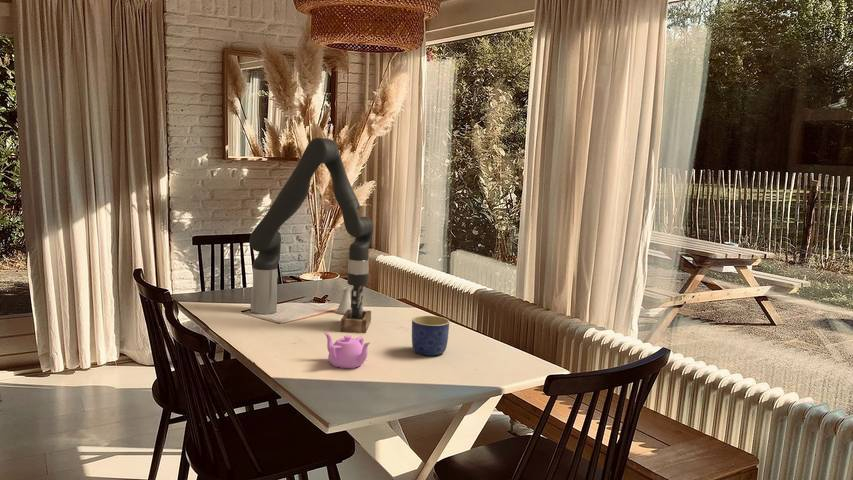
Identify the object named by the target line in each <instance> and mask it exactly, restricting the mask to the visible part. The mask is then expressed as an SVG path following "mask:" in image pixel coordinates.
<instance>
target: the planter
mask: <svg viewBox="0 0 853 480" xmlns="http://www.w3.org/2000/svg"><path fill="white" fill-rule="evenodd" d="M449 331H450V320H449V319H447V318H445V317H442V316H437V315H418V316H414V317H413V318H411V345H412V349H413V351H415V353H417V354H419V355H422V354H423V355H422V356H428V355H434V356H439V355H441V354H443V353H445V351H446V349H447V346H448V340H449Z"/></svg>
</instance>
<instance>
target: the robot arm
mask: <svg viewBox="0 0 853 480" xmlns="http://www.w3.org/2000/svg"><path fill="white" fill-rule="evenodd" d="M322 164H324V165H325V167H326V169H327V171H328V172H329V174H330V178H331V181H332V182H331V183H332V191H333V194H334V197H335V200H336V202H337V204H338V206H339V209H340V211H341V214H342V219H343V224H344V227H345V231H346V232H347V234H349V236H351V237H353V238H355V239H354V241H353V242H352V243H351V244H350V246H349V248H348V250H349V251H348V264H347V284H348V285H349V286H352V287H353V288H351V290H350V298H351V307H352V318H358V308H359V303H360V302H363V299H364V287H365V286H368V284H369V272H370V271H369V270H370V269H369V265H370V263H369V254H370V253H369V252H370V251H369V250H370V247H371V246H370V245H371V242H372V238H373V235H374V224H373V221H372V219H371V218H369V217H368V216H359V213H358V211H359V210H360V207H361V205H360V202H359V200H358V198H357V195H356V193H355V191H354V189H353V187H352V185H351V183H350V181H349V177H348V175H347V172H346V169H345V166H344V163H343V160H342V156H341V153H340V150H339V147H338V144H337V143H336V141H334V140H333V139H331V138H328V137H327V138H325V137H316V138H313V139H311V140H310V141H309V142H308V144H307V145H306V147H305V149H304V151H303V153H302V154H301V158H300V159H299V161H298V163H297V165H296V167H295V168H294V169H293V171H292V173H291V175H290V176H289V178H288V179H287V180H286V182H285V184H284V185H283V186H282V188H281V190H280V191H279V192H278V195H277V196H276V198H275V199H274V201H273V203H272V204H271V206H270V208H269V209H268V210H267V211H266V214H265V215H264V217H263V218H262V220H260V221H259V223H258V224H257V225H256V226H255V227H254V229H253V231H251V233H250V236H249V245H250V248H251V249H252V250H253V251H255V252H258V254H257V257H256V258H255V259H254V260H253V262H252V287H251V289H250V313H254V314H261V315H271V314H274V313H277V310H278V309H277V306H278V304H277V303H278V299H277V298H278V267H279V266H278V265H279V262H280V258H281V246H282V245H281V244H282V238H281V233H280V232H279V229H280V227H281V226H282V225H283V224H285V222H287V221H288V220H289V219H290V218H291V217H292V216H294V214H296V212H298V210H299V209H300V208H301V207H302V205H303V203H304V202H305V200H306V198H307V196H308V194H309V192H310V186H311V185H310V184H311V180H312V177H313V175H314V174H315V172H316V171H317V169H318V168H319V167H320V166H321V165H322ZM354 302H356V304H354Z"/></svg>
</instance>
